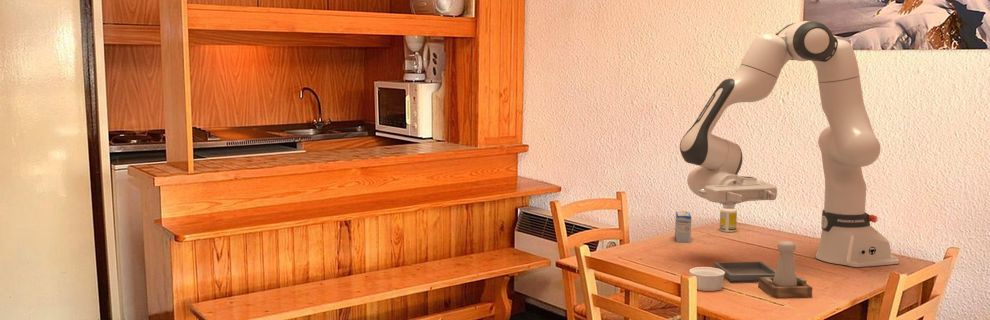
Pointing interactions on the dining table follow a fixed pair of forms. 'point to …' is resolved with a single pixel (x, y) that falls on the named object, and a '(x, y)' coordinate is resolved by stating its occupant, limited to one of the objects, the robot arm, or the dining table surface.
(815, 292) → the dining table surface
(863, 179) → the robot arm
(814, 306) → the dining table surface
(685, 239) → the medicine box
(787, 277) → the salt shaker
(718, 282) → the ramekin
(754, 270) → the tray
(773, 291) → the tray
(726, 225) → the supplement bottle
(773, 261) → the dining table surface
